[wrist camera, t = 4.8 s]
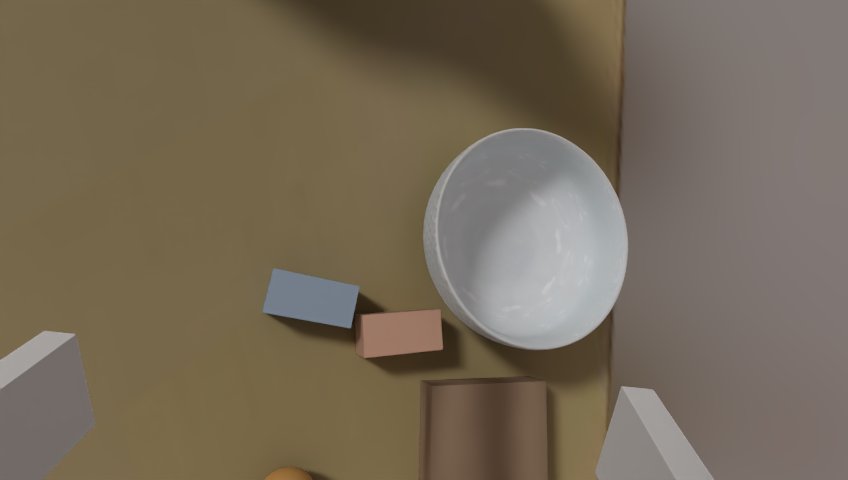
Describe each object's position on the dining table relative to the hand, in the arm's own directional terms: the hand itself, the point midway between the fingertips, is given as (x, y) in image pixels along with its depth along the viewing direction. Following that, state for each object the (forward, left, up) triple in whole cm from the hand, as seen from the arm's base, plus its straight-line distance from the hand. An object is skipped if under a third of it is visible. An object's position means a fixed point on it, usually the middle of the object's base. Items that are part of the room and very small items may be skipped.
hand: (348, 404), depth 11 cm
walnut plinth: (+15, -8, -24) cm, 30 cm away
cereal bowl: (+17, +8, -24) cm, 30 cm away
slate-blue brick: (+1, +3, -23) cm, 24 cm away
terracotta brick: (+8, 0, -24) cm, 25 cm away
